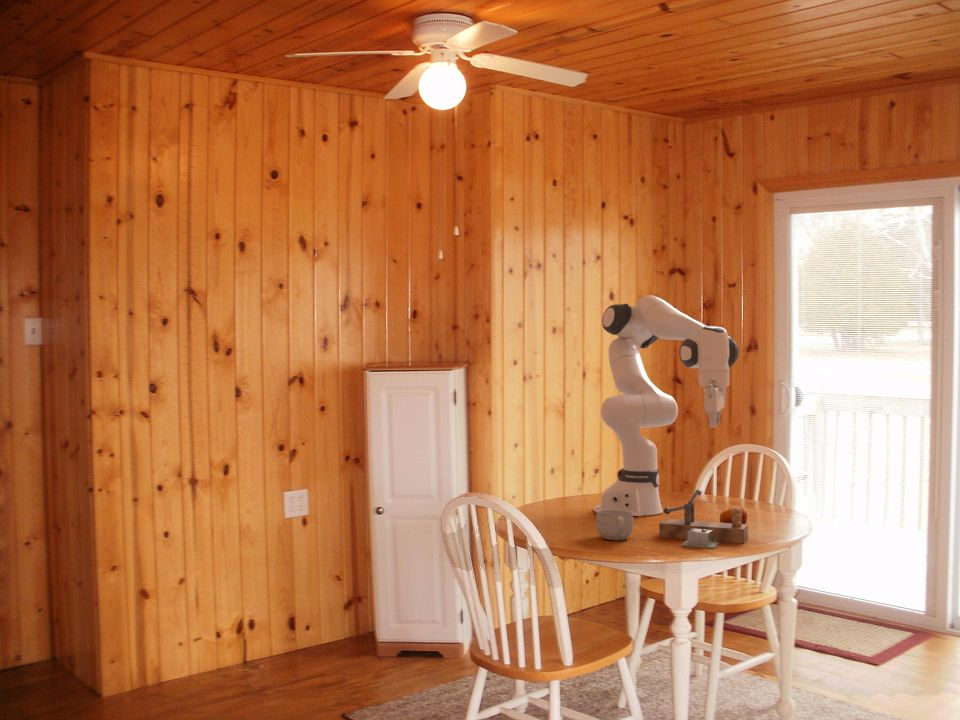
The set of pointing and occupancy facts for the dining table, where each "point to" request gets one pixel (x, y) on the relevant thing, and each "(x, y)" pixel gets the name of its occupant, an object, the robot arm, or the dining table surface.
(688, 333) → the robot arm
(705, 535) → the box with chrome knob
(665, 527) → the brown lever base
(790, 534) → the dining table surface
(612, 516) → the teacup
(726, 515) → the fruit
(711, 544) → the mat
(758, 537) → the dining table surface
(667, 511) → the lever
